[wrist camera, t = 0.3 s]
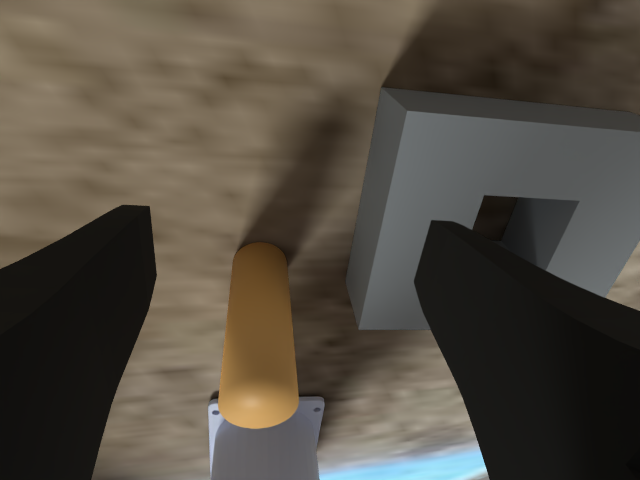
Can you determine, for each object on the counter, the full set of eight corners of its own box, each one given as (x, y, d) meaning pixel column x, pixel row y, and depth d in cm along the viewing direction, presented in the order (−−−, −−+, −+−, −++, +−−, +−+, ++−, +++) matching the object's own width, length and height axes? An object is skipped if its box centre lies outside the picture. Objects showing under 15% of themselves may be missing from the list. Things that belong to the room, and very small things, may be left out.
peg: (285, 286, 24) (295, 427, 17) (232, 285, 24) (218, 430, 16) (289, 243, 23) (302, 376, 15) (232, 241, 22) (217, 377, 15)
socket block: (544, 285, 27) (585, 330, 23) (345, 281, 24) (358, 329, 21) (630, 112, 21) (701, 137, 18) (381, 87, 19) (407, 110, 15)
